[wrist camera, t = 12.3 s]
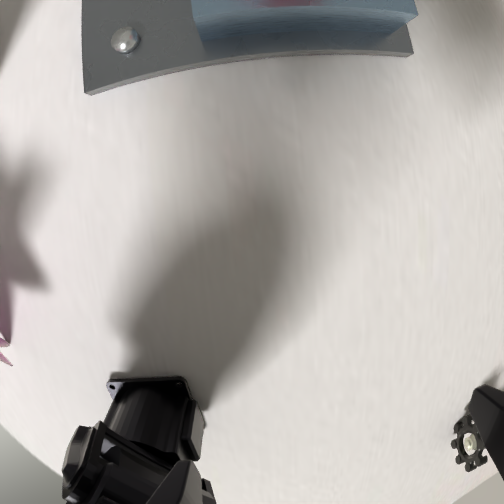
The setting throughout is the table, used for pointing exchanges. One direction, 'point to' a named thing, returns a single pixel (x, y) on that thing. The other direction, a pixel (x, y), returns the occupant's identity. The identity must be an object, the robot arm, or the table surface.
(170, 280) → the table surface
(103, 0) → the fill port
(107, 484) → the robot arm
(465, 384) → the table surface
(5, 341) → the lily
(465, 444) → the valve
